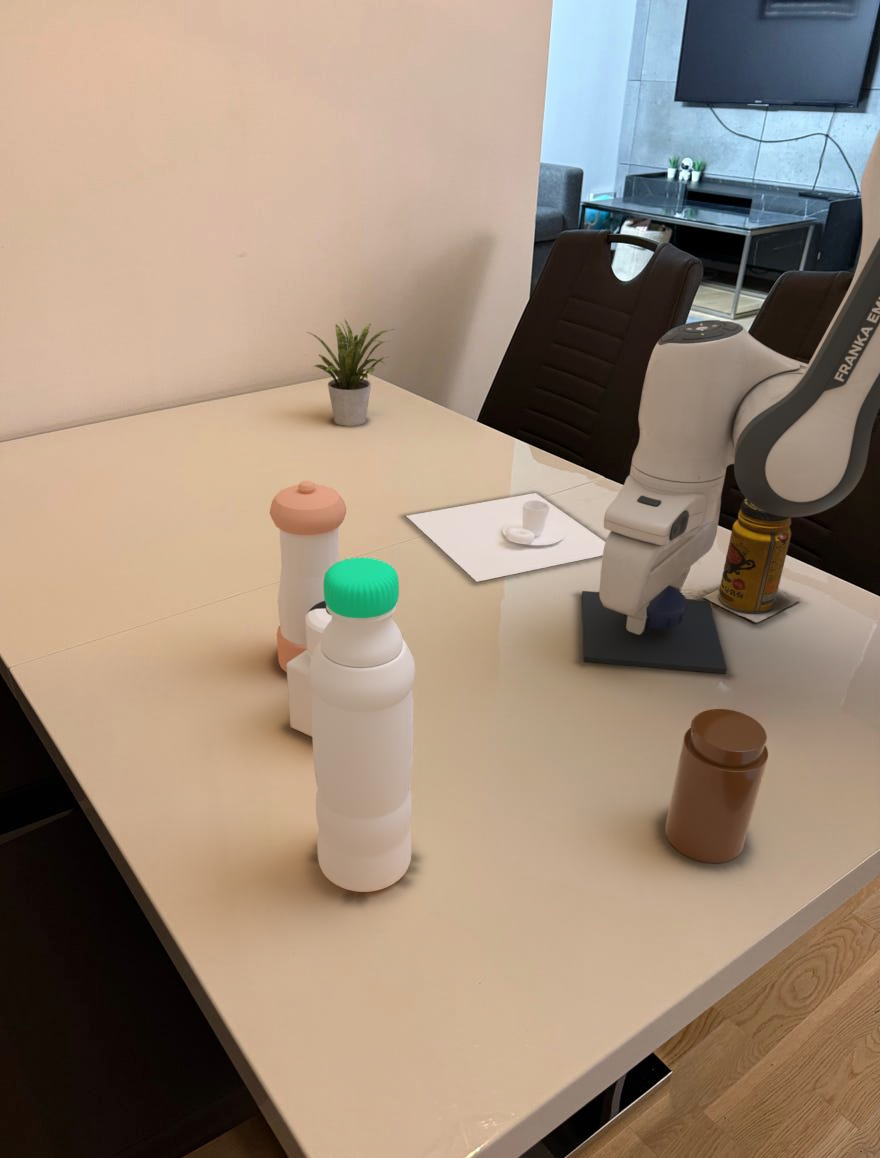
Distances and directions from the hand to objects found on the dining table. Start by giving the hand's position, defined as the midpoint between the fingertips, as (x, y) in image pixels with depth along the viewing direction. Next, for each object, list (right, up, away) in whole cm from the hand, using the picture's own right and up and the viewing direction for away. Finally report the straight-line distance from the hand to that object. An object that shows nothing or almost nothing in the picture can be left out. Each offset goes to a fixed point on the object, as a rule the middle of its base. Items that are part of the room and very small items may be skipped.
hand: (652, 615), depth 100 cm
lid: (0, +2, -1) cm, 2 cm away
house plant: (-34, +34, +58) cm, 75 cm away
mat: (0, -2, +1) cm, 2 cm away
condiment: (+13, +2, +8) cm, 15 cm away
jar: (-3, -18, -25) cm, 31 cm away
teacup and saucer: (-13, +11, +22) cm, 27 cm away
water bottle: (-29, -20, -28) cm, 45 cm away
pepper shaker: (-35, -5, -4) cm, 36 cm away
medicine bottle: (-32, -10, -13) cm, 36 cm away
